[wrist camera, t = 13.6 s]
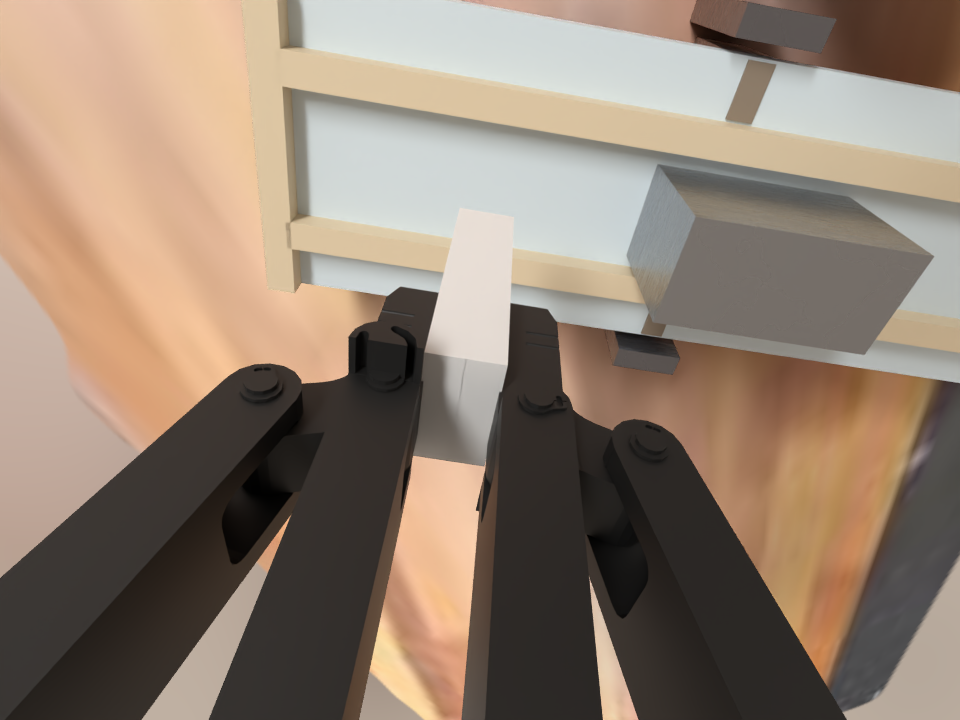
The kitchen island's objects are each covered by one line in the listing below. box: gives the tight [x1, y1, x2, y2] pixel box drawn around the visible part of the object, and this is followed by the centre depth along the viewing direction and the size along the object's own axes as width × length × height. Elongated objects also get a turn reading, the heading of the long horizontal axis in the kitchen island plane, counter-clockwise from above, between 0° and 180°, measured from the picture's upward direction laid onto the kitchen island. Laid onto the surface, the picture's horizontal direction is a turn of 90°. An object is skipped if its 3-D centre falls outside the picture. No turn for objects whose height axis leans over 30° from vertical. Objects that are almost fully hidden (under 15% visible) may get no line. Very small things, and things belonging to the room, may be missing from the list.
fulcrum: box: [604, 0, 837, 375], centre depth 25 cm, size 15×3×6 cm, turn 171°
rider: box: [626, 164, 935, 355], centre depth 21 cm, size 4×8×6 cm, turn 81°
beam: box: [241, 0, 960, 383], centre depth 23 cm, size 12×36×2 cm, turn 81°
